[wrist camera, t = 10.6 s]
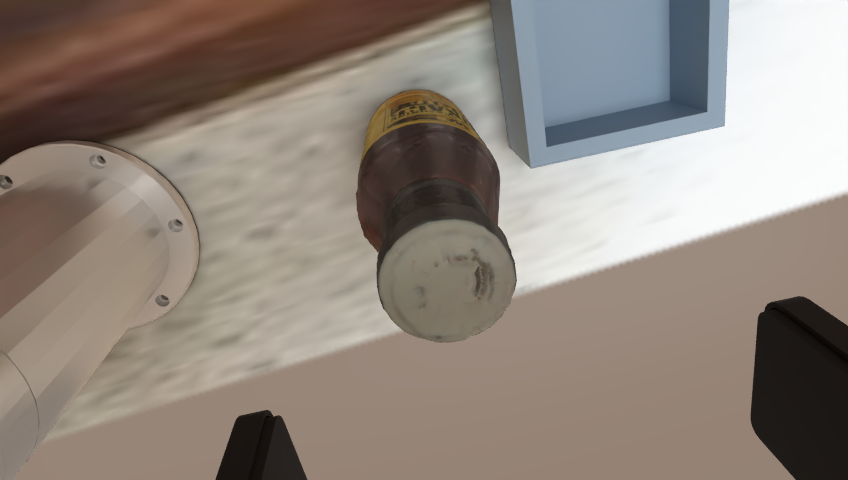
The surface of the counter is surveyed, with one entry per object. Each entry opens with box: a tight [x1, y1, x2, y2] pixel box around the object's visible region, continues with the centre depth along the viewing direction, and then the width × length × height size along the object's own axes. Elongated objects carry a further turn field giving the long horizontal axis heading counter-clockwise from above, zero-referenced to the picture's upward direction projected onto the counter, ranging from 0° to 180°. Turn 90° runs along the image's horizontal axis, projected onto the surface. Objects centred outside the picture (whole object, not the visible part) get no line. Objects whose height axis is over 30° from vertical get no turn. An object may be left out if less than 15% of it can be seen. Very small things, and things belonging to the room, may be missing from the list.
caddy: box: [490, 0, 729, 168], centre depth 29 cm, size 11×12×5 cm
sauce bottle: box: [356, 90, 517, 342], centre depth 24 cm, size 7×6×20 cm
